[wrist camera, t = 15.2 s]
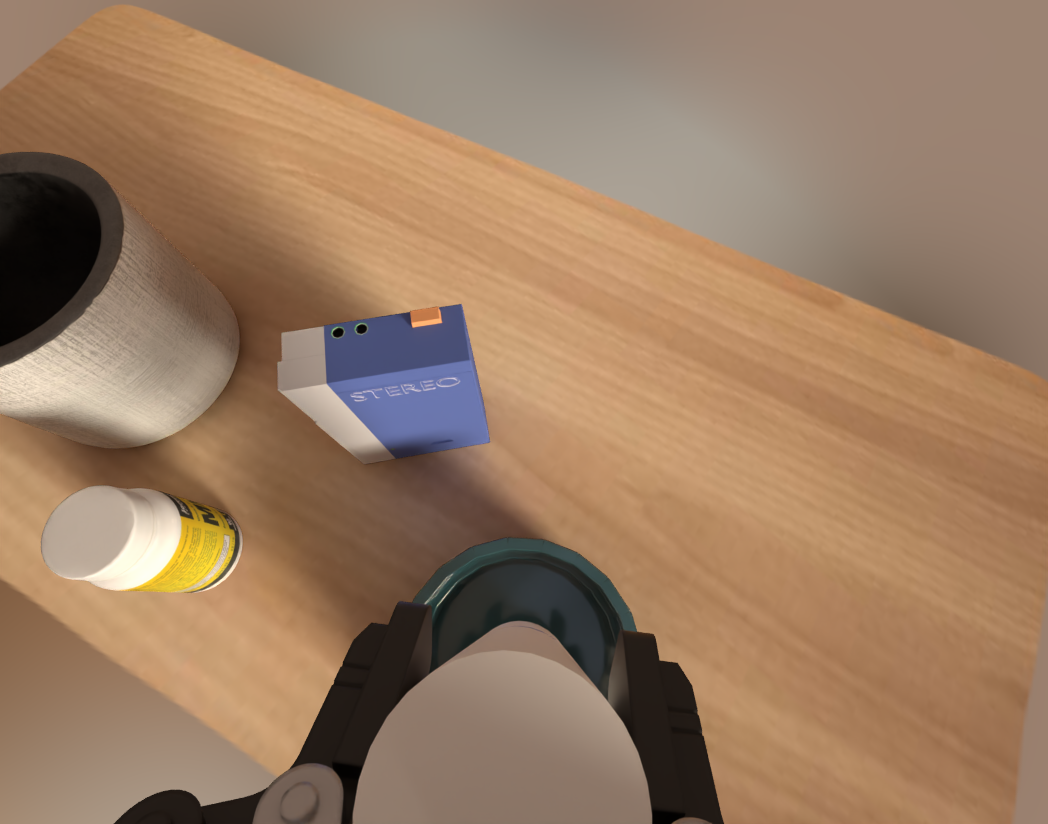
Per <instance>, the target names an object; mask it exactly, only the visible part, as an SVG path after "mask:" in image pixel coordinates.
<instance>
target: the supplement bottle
mask: <svg viewBox="0 0 1048 824" xmlns="http://www.w3.org/2000/svg"><path fill="white" fill-rule="evenodd" d="M242 545H243V538H242V532H241V529H240V527H239V525H238V523H237V522H236V520H235V519H234V518H233V517H232V516H231V515H229V514H228V513H226V512H224V511H222V510H220V509H216V508H214V507H210V506H206V505H203V504H200V503H197V502H193V501H190V500H187V499H184V498H180V497H176V496H173V495H170V494H166V493H164V492H160V491H157V490H153V489H145V488H134V489H124V488H117V487H113V486H107V485H98V486H91V487H87V488H84V489H82V490H79V491H77V492H75V493H73V494H72V495H70V496H69V497H67V498H66V499H65V500H64V501H62V502H61V503H60V504H59V505H58V506H57V507H56V509H55V510H54V511H53V512H52V514H51V515H50V517H49V519H48V521H47V523H46V525H45V527H44V530H43V534H42V539H41V552H42V556H43V559H44V561H45V563H46V565H47V566H48V567H49V568H50V569H51V570H52V571H53V572H54V573H55V574H57V575H59V576H61V577H64V578H67V579H73V580H85V581H89V582H90V583H92V584H93V585H95V586H98V587H101V588H104V589H109V590H118V591H156V592H178V593H195V592H201V591H205V590H208V589H211V588H213V587H215V586H217V585H218V584H220V583H221V582H222V581H224V580H225V579H226V578H227V577H228V576H229V575H230V574H231V572H232V571H233V570H234V568H235V567H236V565H237V563H238V561H239V558H240V555H241V552H242Z"/></svg>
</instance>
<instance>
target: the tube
mask: <svg viewBox="0 0 1048 824" xmlns="http://www.w3.org/2000/svg"><path fill="white" fill-rule="evenodd" d="M353 824H652V811H651V804H650V797H649V790H648V784H647V780H646V776H645V773H644V770H643V767H642V763H641V760H640V757H639V754H638V751H637V749H636V747H635V745H634V743H633V741H632V739H631V737H630V735H629V733H628V731H627V729H626V727H625V725H624V723H623V722H622V720H621V719H620V718H619V716H618V715H617V713H616V712H615V711H614V709H613V708H612V707H611V705H610V704H609V703H608V701H607V700H606V699H605V697H604V696H603V695H602V694H601V692H600V691H599V690H598V689H597V687H596V686H595V685H594V684H593V682H592V681H591V680H590V679H589V678H588V676H587V675H586V674H585V673H584V671H583V670H582V669H581V668H580V666H579V665H578V664H577V663H576V662H575V660H574V659H573V658H572V657H571V655H570V654H569V653H568V652H567V651H566V649H565V648H564V647H563V646H562V644H561V643H560V642H559V641H558V639H557V638H556V637H555V636H554V635H553V634H551V633H550V632H549V631H548V630H547V629H545V628H543V627H541V626H540V625H537V624H534V623H531V622H526V621H512V622H508V623H504V624H501V625H499V626H498V627H496V628H494V629H492V630H491V631H489V632H488V633H487V634H485V635H484V636H482V637H481V638H480V639H478V640H477V641H475V642H474V643H472V644H471V645H470V646H468V647H467V648H465V649H464V650H463V651H461V652H460V653H458V654H457V655H456V656H454V657H453V658H451V659H450V660H448V661H447V662H446V663H444V664H443V665H441V666H440V667H439V668H437V669H436V670H434V671H433V672H432V673H430V674H429V675H428V676H427V677H425V678H424V679H423V680H422V681H421V682H419V683H418V684H417V685H416V686H414V687H413V688H412V689H411V690H410V691H408V692H407V693H406V695H405V696H404V697H403V698H402V699H401V701H400V702H399V703H398V704H397V705H396V707H395V708H394V709H393V710H392V712H391V713H390V714H389V715H388V716H387V718H386V720H385V721H384V723H383V725H382V727H381V728H380V730H379V732H378V734H377V736H376V737H375V739H374V741H373V743H372V745H371V746H370V749H369V752H368V755H367V758H366V760H365V763H364V766H363V769H362V772H361V775H360V778H359V781H358V787H357V793H356V798H355V804H354V810H353Z"/></svg>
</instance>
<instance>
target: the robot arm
mask: <svg viewBox="0 0 1048 824" xmlns="http://www.w3.org/2000/svg"><path fill="white" fill-rule="evenodd" d="M431 656H432V607H431V605H426V604H418V603H410V602H403V601H399V602H398V603H397V605H396V607H395V609H394V612H393V614H392V616H391V619H390V621H389V624H388V625H385V624H377V623H370V624H369V625H368V626H367V627H366V628H365V629H364V630H363V631H362V632H361V633H360V634H359V635H358V636H357V637H356V638H355V639H354V640H353V642H352V644H351V646H350V648H349V650H348V652H347V655H346V657H345V659H344V661H343V665H342V667H340V669H339V671H338V674H337V676H336V678H335V680H334V684H333V685H332V686H331V688H330V690H329V693H328V695H327V697H326V699H325V701H324V703H323V705H322V707H321V709H320V712H319V714H318V716H317V718H316V720H315V722H314V724H313V726H312V728H311V731H310V733H309V735H308V737H307V739H306V741H305V743H304V745H303V747H302V750H301V752H300V754H299V756H298V757H297V759H296V761H295V762H294V764H293V765H292V766H291V768H290V769H289V770H288V771H286V772H284V773H283V774H282V775H280V776H279V777H278V778H277V779H276V780H275V781H274V782H272V783H271V785H270V786H269V787H268V788H266V789H264V790H263V791H261V792H258V793H256V794H254V795H251V796H247V797H244V798H239V799H234V800H230V801H225V802H221V803H216V804H211V805H207V806H202V807H201V806H200V803H199V801H198V800H197V798H196V797H195V796H194V795H192V794H191V793H189V792H187V791H183V790H168V791H163V792H159V793H156V794H154V795H152V796H149V797H147V798H145V799H144V800H142V801H141V802H138V803H137V804H136V805H134V806H133V807H132V808H130V809H129V810H128V811H127V812H126V813H124V814H123V815H122V816H121V817H120V818H119V819H118V820H117V821H116V822H115V823H114V824H353V810H354V804H355V798H356V793H357V787H358V781H359V778H360V775H361V772H362V769H363V766H364V763H365V760H366V758H367V755H368V752H369V749H370V746H371V745H372V743H373V741H374V739H375V737H376V736H377V734H378V732H379V730H380V728H381V727H382V725H383V723H384V721H385V720H386V718H387V716H388V715H389V714H390V713H391V712H392V710H393V709H394V708H395V707H396V705H397V704H398V703H399V702H400V701H401V699H402V698H403V697H404V696H405V695H406V693H407V692H408V691H410V690H411V689H412V688H413V687H414V686H416V685H417V684H418V683H419V682H421V681H422V680H423V679H424V678H425V677H427V676H428V675H429V670H430V664H431ZM608 703H609V704H610V705H611V707H612V708H613V709H614V711H615V712H616V713H617V715H618V716H619V718H620V719H621V720H622V722H623V723H624V725H625V727H626V729H627V731H628V733H629V735H630V737H631V739H632V741H633V743H634V745H635V747H636V749H637V751H638V754H639V757H640V760H641V763H642V767H643V770H644V773H645V776H646V780H647V784H648V790H649V797H650V804H651V811H652V824H724V822H723V819H722V815H721V811H720V807H719V802H718V798H717V794H716V789H715V785H714V780H713V776H712V772H711V767H710V763H709V758H708V754H707V750H706V745H705V741H704V736H702V728H701V723H700V719H699V715H698V714H697V711H698V710H697V706H696V701H695V697H694V692H693V688H692V685H691V683H690V682H689V680H688V679H687V677H686V675H685V674H684V672H683V671H682V669H681V668H680V666H679V665H678V663H674V662H666V661H659V655H658V649H657V643H656V639H655V636H654V634H650V633H642V632H634V631H627V630H620V632H619V635H618V639H617V644H616V649H615V653H614V658H613V663H612V668H611V672H610V678H609V687H608Z"/></svg>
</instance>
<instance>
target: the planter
mask: <svg viewBox="0 0 1048 824" xmlns="http://www.w3.org/2000/svg"><path fill="white" fill-rule="evenodd" d="M239 344H240V334H239V327H238V323H237V319H236V316H235V314H234V311H233V309H232V308H231V306H230V304H229V303H228V301H227V300H226V298H225V297H224V296H223V294H222V293H221V292H220V291H219V290H218V289H217V288H216V287H215V286H214V285H213V284H212V283H211V282H210V281H209V280H208V279H207V278H206V277H205V276H204V275H203V274H202V273H201V272H200V271H199V270H198V269H197V268H196V267H195V266H194V265H193V264H192V263H191V262H190V261H189V260H188V259H186V258H185V257H184V256H183V255H182V254H181V253H180V252H179V251H178V250H177V249H176V248H175V247H174V246H173V245H172V244H171V243H170V242H169V241H168V240H167V239H166V238H165V237H163V236H162V235H161V234H160V233H159V232H158V231H157V230H156V229H155V228H154V227H153V226H152V225H151V224H150V223H149V222H148V221H147V220H146V219H145V218H144V217H143V216H142V215H141V214H140V213H139V212H138V211H137V210H136V209H135V208H134V207H133V206H132V205H131V204H130V203H129V202H128V201H127V200H126V199H125V198H124V197H123V196H122V195H121V194H120V193H119V192H118V191H117V190H116V189H115V188H114V187H113V186H111V185H110V184H109V183H108V182H107V181H106V180H105V179H104V178H103V177H102V176H101V175H100V174H98V173H97V172H96V171H94V170H93V169H92V168H90V167H88V166H87V165H85V164H83V163H81V162H79V161H76V160H74V159H71V158H68V157H64V156H61V155H56V154H50V153H41V152H16V153H6V154H0V414H3V415H6V416H8V417H11V418H14V419H16V420H19V421H21V422H24V423H27V424H29V425H32V426H35V427H37V428H40V429H43V430H45V431H48V432H51V433H53V434H56V435H59V436H62V437H64V438H67V439H70V440H73V441H75V442H78V443H82V444H85V445H90V446H96V447H102V448H111V449H120V448H131V447H137V446H142V445H146V444H150V443H153V442H156V441H158V440H161V439H163V438H166V437H168V436H170V435H172V434H174V433H176V432H178V431H180V430H181V429H183V428H184V427H186V426H187V425H189V424H190V423H192V422H193V421H194V420H196V419H197V418H198V417H199V416H200V415H202V414H203V413H204V412H205V411H206V410H207V409H208V408H209V407H210V406H211V405H212V404H213V402H214V401H215V400H216V399H217V398H218V396H219V395H220V394H221V392H222V391H223V389H224V388H225V386H226V385H227V383H228V381H229V379H230V377H231V375H232V373H233V370H234V368H235V365H236V362H237V358H238V353H239Z"/></svg>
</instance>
